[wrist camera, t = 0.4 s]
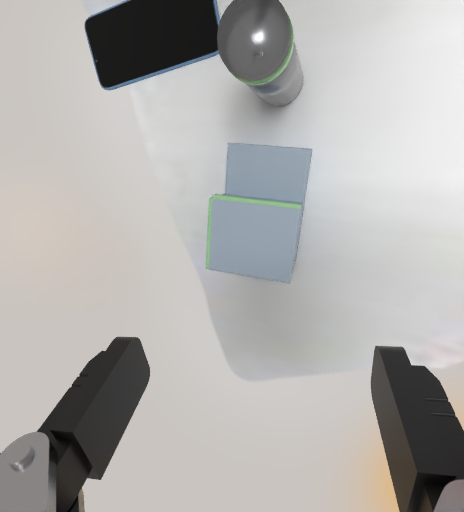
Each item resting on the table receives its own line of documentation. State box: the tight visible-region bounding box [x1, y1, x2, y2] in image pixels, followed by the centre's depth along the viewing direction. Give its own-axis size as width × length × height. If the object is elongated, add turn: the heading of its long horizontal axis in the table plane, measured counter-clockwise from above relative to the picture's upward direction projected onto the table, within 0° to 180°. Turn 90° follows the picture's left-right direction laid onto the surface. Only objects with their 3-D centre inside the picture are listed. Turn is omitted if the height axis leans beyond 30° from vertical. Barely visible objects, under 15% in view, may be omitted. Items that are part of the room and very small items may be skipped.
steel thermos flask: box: [217, 0, 303, 106], centre depth 25 cm, size 5×5×13 cm
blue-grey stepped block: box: [206, 143, 312, 283], centre depth 31 cm, size 12×8×7 cm
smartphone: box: [85, 0, 220, 90], centre depth 32 cm, size 7×1×15 cm
